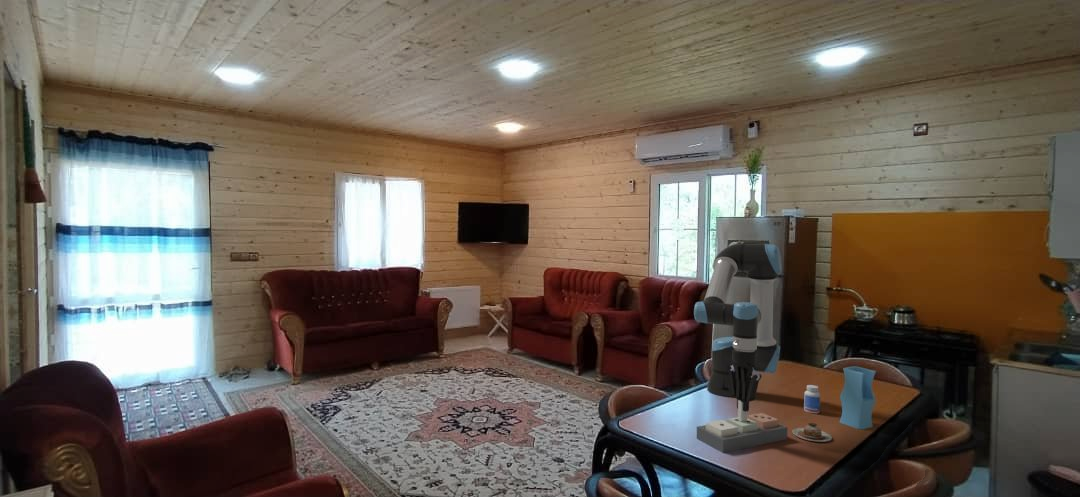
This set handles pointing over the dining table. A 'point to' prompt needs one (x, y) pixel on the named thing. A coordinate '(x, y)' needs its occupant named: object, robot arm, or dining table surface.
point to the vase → (857, 397)
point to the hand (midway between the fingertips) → (742, 419)
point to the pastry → (812, 433)
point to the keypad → (742, 438)
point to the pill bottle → (812, 399)
